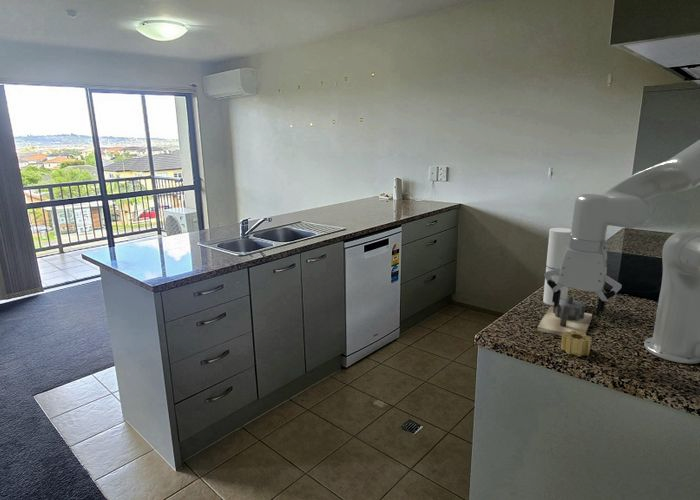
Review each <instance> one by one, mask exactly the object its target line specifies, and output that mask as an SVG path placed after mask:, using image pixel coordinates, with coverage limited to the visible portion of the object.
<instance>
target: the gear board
mask: <svg viewBox="0 0 700 500" xmlns="http://www.w3.org/2000/svg"><path fill="white" fill-rule="evenodd" d="M554 303H555V302H554ZM585 311H586V305H585V304H584V302H583V301H582V300H580V301H579V300H576V299H574V297H573V295H567V299H563V298H560V301H559V305H558V306H557V307H554V306H549V307H548V309H547V311H546V312H545V314H544V315H543V317H542V319H541V320H540V322H539V323H538V325H537V328H536V331H537V332H541V333H546V334H551V335H556V336H560V337H562V335H563V333H564V332H565V331H566V332H571V331H576V332H579V333H582V332H583V333H586V334H587V332H588V330H589V326H590V324H591V322H592V321H591V320H592V319H593V318H592V317H593V313H587V312H585Z"/></svg>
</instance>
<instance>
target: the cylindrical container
mask: <svg viewBox="0 0 700 500" xmlns="http://www.w3.org/2000/svg"><path fill="white" fill-rule="evenodd" d="M571 229H572V228H567V227H551V228H549V231H548V232H549V234H548V244H547V254H546V265H545V266H546V267H545V272H548V271H551V270H555V269H558V268H560V267H561V263H562V259H563V255H564V252H565V249H566V247H569V243H570V236H571ZM551 277H552V280H553V281H554V282H555V283H556V284H557V283H558V279H559V274H557V275H554V276H551ZM560 290H561V294H560V298H563V299H567V296H568V292H569V288H568V287H564V286H563V287H562V288H561V289H560ZM552 300H553V291H552V288H551V287H550V286H549V285H548V284H547V280H546V278H545V277H544V287H543V299H542V302H543V303H544V304H546V305H548V306H551V307H554V302H552Z"/></svg>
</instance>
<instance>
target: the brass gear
mask: <svg viewBox="0 0 700 500" xmlns="http://www.w3.org/2000/svg"><path fill="white" fill-rule="evenodd" d="M592 340H593V339H592V337H591V336H589V335H587V332H586V333H583V332H582V333H579V332H576V331H571V332H566V331H565V332H564V333H563V335H562V336H561V345H560V350H562V351H565V353H566V354H567V355H573V356H576V357H578V358H579V357H580V358H581V357H582V356H586V357H588V356H589V355H590V353H591V346H592Z"/></svg>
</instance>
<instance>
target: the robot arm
mask: <svg viewBox="0 0 700 500" xmlns="http://www.w3.org/2000/svg"><path fill="white" fill-rule="evenodd" d="M699 186H700V139H698V140H696V141H695V142H694V143H693V144H691V145H689V146H688V147H686V148H684V149H683V150H682V151H680V152H678V153H676V154H675V155H674V156H672V157H671V158H669V159H666V160H665V161H662V162H659V163H657V164H655V165H653V166H650V167H649V168H646V169H644V170H641V171H638V172H636V173H634V174H632V175H631V176H628V177H627V178H624V179H622V180H621V181H620V182H618V183H617V184H615V185H613V186H612V187H611V188H609V189H608V190H607V191H605V192H604V193H603V194H594V193H590V194H589V193H588V194H587V193H585V194H580V195H577V197H575V201H574V208H573V216H572V222H571V228H570V229H571V236H570V243H569V247H566V249H565V252H564V255H563V259H562V263H561V267H560V268H558V269H555V270H551V271H548V272H546V271H545V272H544V274H543V276H544V279H545V278H546V280H547V284H548V285H549V286H550V287H551V288H552V291H553V300H552V302H555V303H554V306H553V307H557V306H558V305H559V301H560V294H561V290H560V289H561V288H562V287H563V286H564V287H568V289H575V290H579V291H586V292H589V293H590V292H591V293H596V295H597V296H598V297H599V298H598V301H597V307H596V313H595V315H596V316H598V317H600V315H601V313H604V311H605V306H606V302H607V300H609V299H611V298H612V297H614V296H616V295H617V293H618V292H619V291H620V290H621V289H622V288H623V287H622V286H623V285H622V284H621V283H620V282H618V281H616V280H615V279H613V278H611V277H610V276H609V275H607V269H608V252H607V251H605V250H608V249H610V250H611V249H612V243H611V242H607V241H606V239H607V238H606V237H607V230H608V226H612V227H613V226H614V227H619V228H623V229H624V228H626V229H634V228H639V227H641V226H643V225H645V224H646V223H648V222H649V220H650V219H651V217H652V213H653V210H652V209H653V208H652V206H651V204H650V203H649V202H648V201H647V200H649V199H652V198H655V197H657V196H660V195H666V194H671V193H679V192H684V191H688V190H691V189H695V188H697V187H699ZM661 258H662V277H661V285H660V291H659V297H658V301H657V302H658V304H657V309H656V314H655V315H656V316H655V321H654V328H653V334H652V336H651V337H649V338H646V339H645V340H644V342H643V343H644V344H643V347H644V348H645V349H646V350H647V352H649V353H650V354H652V355H653V356H656V357H659V358H661V359H662V360H663V359H664V360H666V361H670V362H673V363H680V364H681V363H682V364H699V363H700V231H695V230H681V231H678V232H675V233H673V234H671V235H670V236H669V237H668V238H667V239H666V240H665V242H664V244H663V246H662V253H661ZM557 274H559V279H558V283H557V284H556V283H555V282H554V281H553V280H552V277H551V276H554V275H557ZM606 283H607V284H608V285H610V286H611V287H612V288H611V290H608V291H606V290H605V289H604V287H605V285H606Z"/></svg>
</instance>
